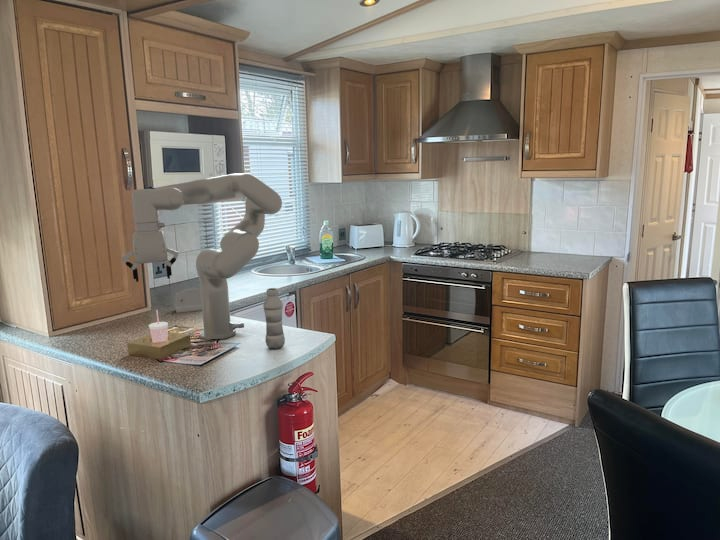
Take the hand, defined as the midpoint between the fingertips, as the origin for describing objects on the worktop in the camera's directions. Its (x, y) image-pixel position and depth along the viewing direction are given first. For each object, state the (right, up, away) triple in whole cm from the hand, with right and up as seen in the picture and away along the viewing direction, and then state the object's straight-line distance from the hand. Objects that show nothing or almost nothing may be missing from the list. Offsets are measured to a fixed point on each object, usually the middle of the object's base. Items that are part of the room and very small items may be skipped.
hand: (153, 279), depth 174 cm
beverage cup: (+1, -24, +4) cm, 25 cm away
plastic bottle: (+40, -23, +4) cm, 46 cm away
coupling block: (+1, -24, +4) cm, 24 cm away
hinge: (-4, -14, +58) cm, 60 cm away
